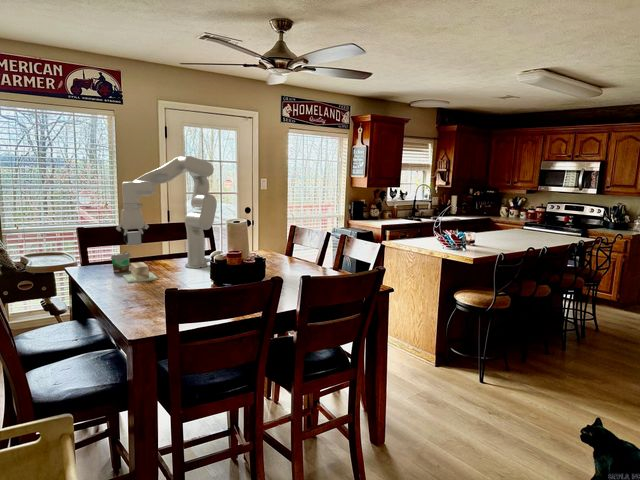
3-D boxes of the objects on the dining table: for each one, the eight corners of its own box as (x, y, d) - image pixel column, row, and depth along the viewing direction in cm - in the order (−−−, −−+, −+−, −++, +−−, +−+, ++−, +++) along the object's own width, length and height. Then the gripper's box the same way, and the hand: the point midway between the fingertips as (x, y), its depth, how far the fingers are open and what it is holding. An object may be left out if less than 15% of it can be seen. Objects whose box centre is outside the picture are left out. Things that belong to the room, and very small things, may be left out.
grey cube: (138, 242, 227) (138, 231, 226) (141, 244, 222) (140, 232, 221) (126, 243, 224) (125, 232, 223) (128, 245, 219) (127, 233, 218)
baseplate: (151, 273, 236) (150, 271, 236) (157, 279, 224) (157, 277, 224) (122, 276, 228) (122, 274, 228) (128, 282, 217) (128, 280, 216)
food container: (122, 274, 234) (121, 255, 232) (111, 273, 235) (110, 255, 233) (136, 269, 246) (135, 251, 244) (126, 268, 247) (125, 251, 245)
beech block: (143, 273, 233) (143, 262, 232) (149, 278, 223) (148, 266, 222) (131, 274, 229) (130, 263, 228) (136, 279, 219) (135, 267, 219)
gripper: (147, 205, 228) (150, 239, 231) (111, 206, 218) (114, 242, 221) (151, 206, 221) (153, 241, 224) (113, 208, 212) (116, 244, 215)
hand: (133, 241), depth 223 cm, fingers closed on grey cube, 6 cm apart
